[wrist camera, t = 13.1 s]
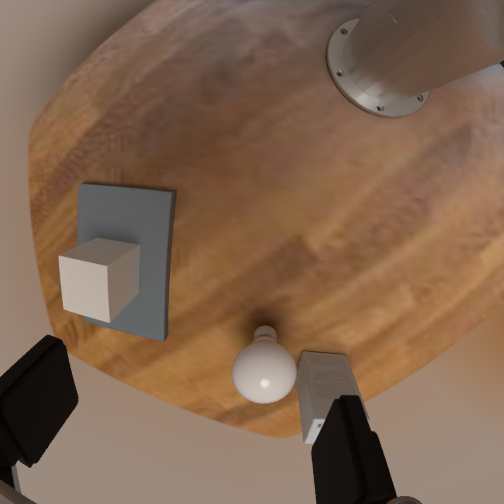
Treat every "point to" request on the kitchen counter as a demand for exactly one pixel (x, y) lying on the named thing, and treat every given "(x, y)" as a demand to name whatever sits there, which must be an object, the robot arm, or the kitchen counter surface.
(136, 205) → the post board
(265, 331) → the lightbulb
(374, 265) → the kitchen counter surface
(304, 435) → the skincare box
